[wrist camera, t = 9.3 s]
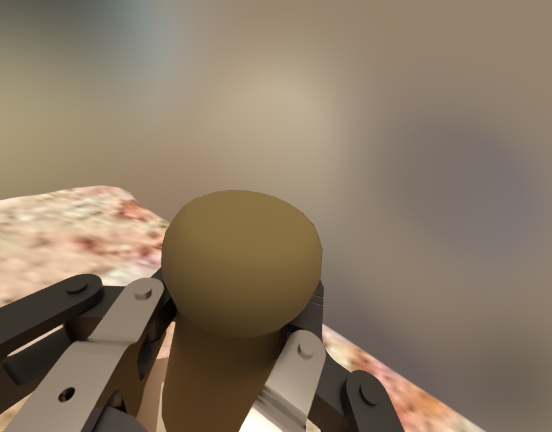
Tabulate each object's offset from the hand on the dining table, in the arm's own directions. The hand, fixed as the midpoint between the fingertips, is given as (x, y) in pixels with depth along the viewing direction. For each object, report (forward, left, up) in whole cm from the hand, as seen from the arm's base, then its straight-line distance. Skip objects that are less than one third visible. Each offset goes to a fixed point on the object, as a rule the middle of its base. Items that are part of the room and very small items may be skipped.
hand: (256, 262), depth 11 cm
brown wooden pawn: (-1, -2, -7) cm, 7 cm away
